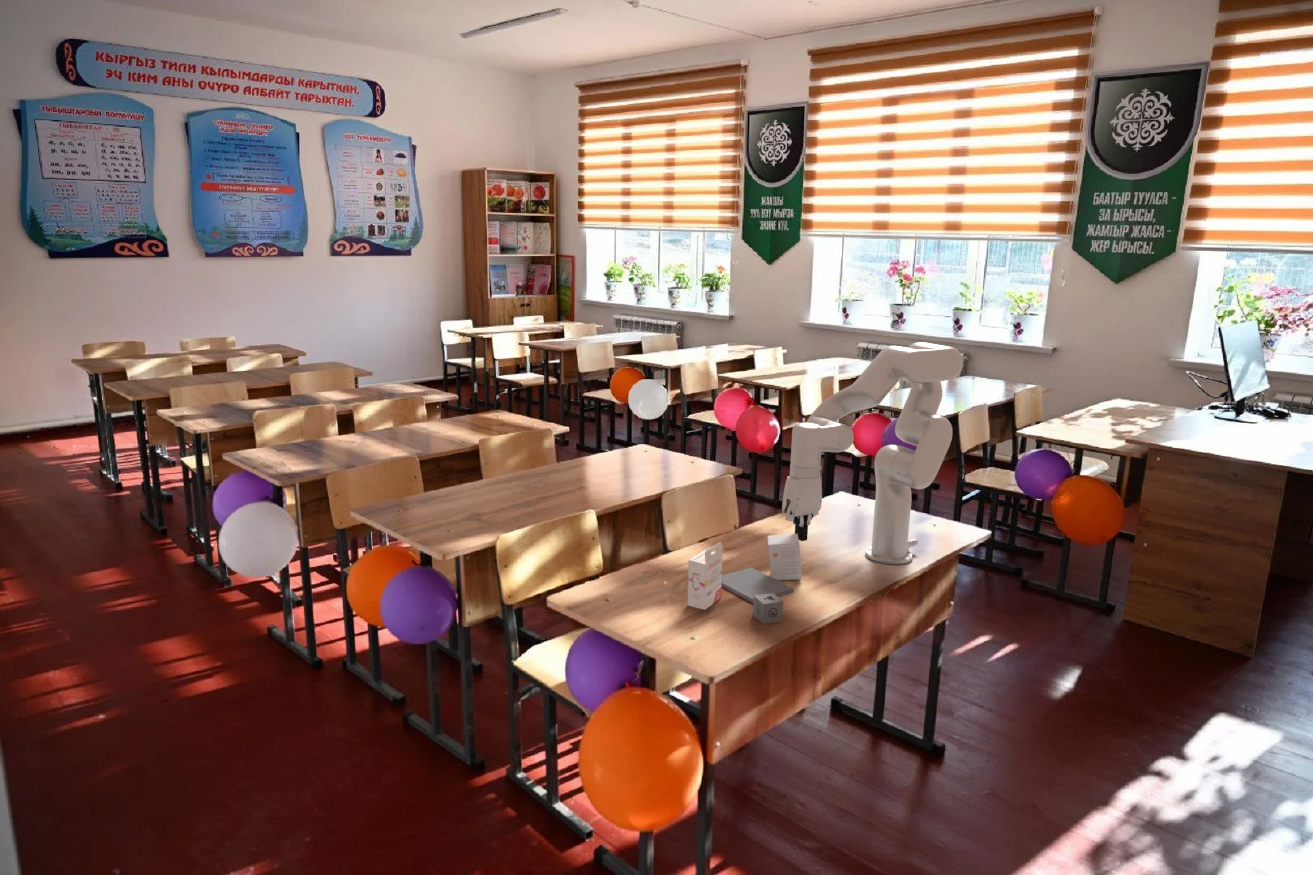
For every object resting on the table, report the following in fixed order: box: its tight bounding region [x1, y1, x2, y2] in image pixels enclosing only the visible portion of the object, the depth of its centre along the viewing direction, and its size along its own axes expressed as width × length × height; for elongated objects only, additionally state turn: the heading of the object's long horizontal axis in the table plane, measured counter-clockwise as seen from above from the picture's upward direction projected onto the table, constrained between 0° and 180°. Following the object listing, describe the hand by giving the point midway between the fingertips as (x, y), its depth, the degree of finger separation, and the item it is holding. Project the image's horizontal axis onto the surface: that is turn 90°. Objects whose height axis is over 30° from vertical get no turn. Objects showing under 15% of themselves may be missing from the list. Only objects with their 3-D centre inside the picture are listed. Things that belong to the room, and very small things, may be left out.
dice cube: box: [752, 593, 784, 625], centre depth 200 cm, size 5×5×5 cm
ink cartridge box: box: [687, 541, 723, 611], centre depth 207 cm, size 9×5×15 cm, turn 148°
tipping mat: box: [721, 567, 794, 604], centre depth 218 cm, size 13×16×1 cm
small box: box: [767, 533, 803, 581], centre depth 222 cm, size 8×6×10 cm
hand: (800, 539), depth 224 cm, fingers closed
